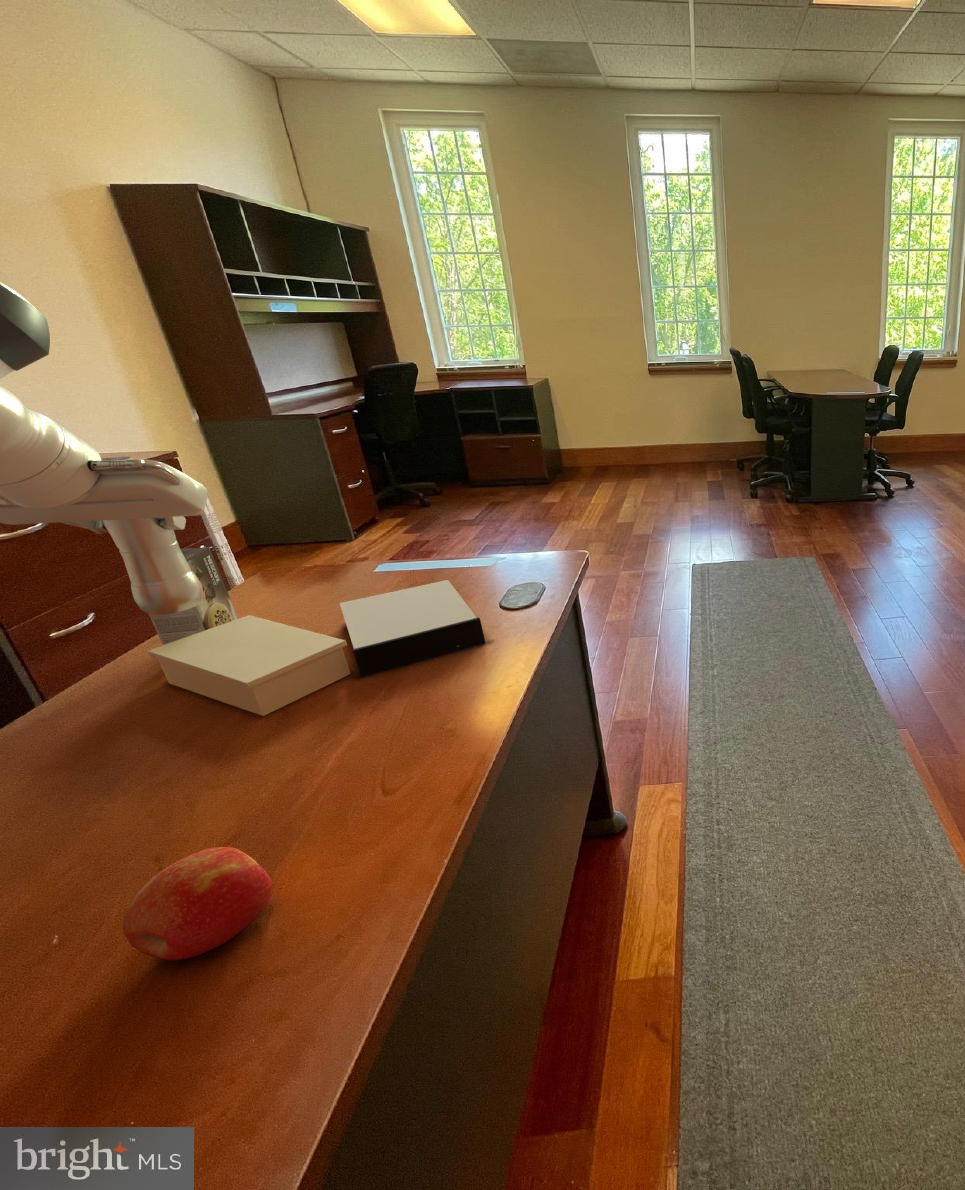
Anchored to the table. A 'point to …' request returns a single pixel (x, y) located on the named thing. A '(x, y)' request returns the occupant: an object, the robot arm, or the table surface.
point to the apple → (197, 904)
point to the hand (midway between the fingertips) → (143, 526)
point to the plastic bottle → (154, 564)
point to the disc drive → (409, 626)
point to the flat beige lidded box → (253, 663)
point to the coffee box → (209, 611)
